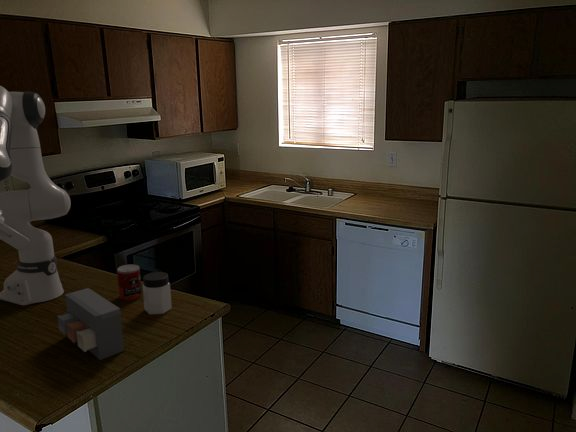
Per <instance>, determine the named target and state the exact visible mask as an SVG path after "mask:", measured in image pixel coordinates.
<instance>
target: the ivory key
mask: <svg viewBox="0 0 576 432" xmlns="http://www.w3.org/2000/svg"><path fill="white" fill-rule="evenodd" d="M76 333H77V341H76V342H77V347H78V348H80V349H81V350H82V351H83V352H84V353H86V352H87V351H89V349H91V348H94V347H97V341H96V332H94V331H93V330H92V329H91V328H89V329H86V330H83V331H80V332H79V331H77V332H76Z"/></svg>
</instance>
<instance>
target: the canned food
mask: <svg viewBox="0 0 576 432" xmlns="http://www.w3.org/2000/svg"><path fill="white" fill-rule="evenodd" d="M116 270H117V271H116V272H117V273H116V274H117V284H118V294H119V298H120V300H122V301H125V302H131V301H136V300H138V299H141V297H142V295H143V294H142V293H143V290H142V280H141V279H142V278H141V269H140V266H139V265H138V264H133V263H132V264H124V265H121V266H119V267H118V268H117V269H116Z"/></svg>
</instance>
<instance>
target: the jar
mask: <svg viewBox="0 0 576 432" xmlns="http://www.w3.org/2000/svg"><path fill="white" fill-rule="evenodd" d="M142 281H143V283H142V293H143V294H142V296H143V306H144V311H146V312H147V314H148V315H162V314H165V313H167V312H168V311H170V310H172V307H173V306H172V294H171V283H170V282H169V281H170V280H169V274H168V273H166V272H164V271H154V272H148V273H146V274H145V275H143V276H142Z"/></svg>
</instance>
